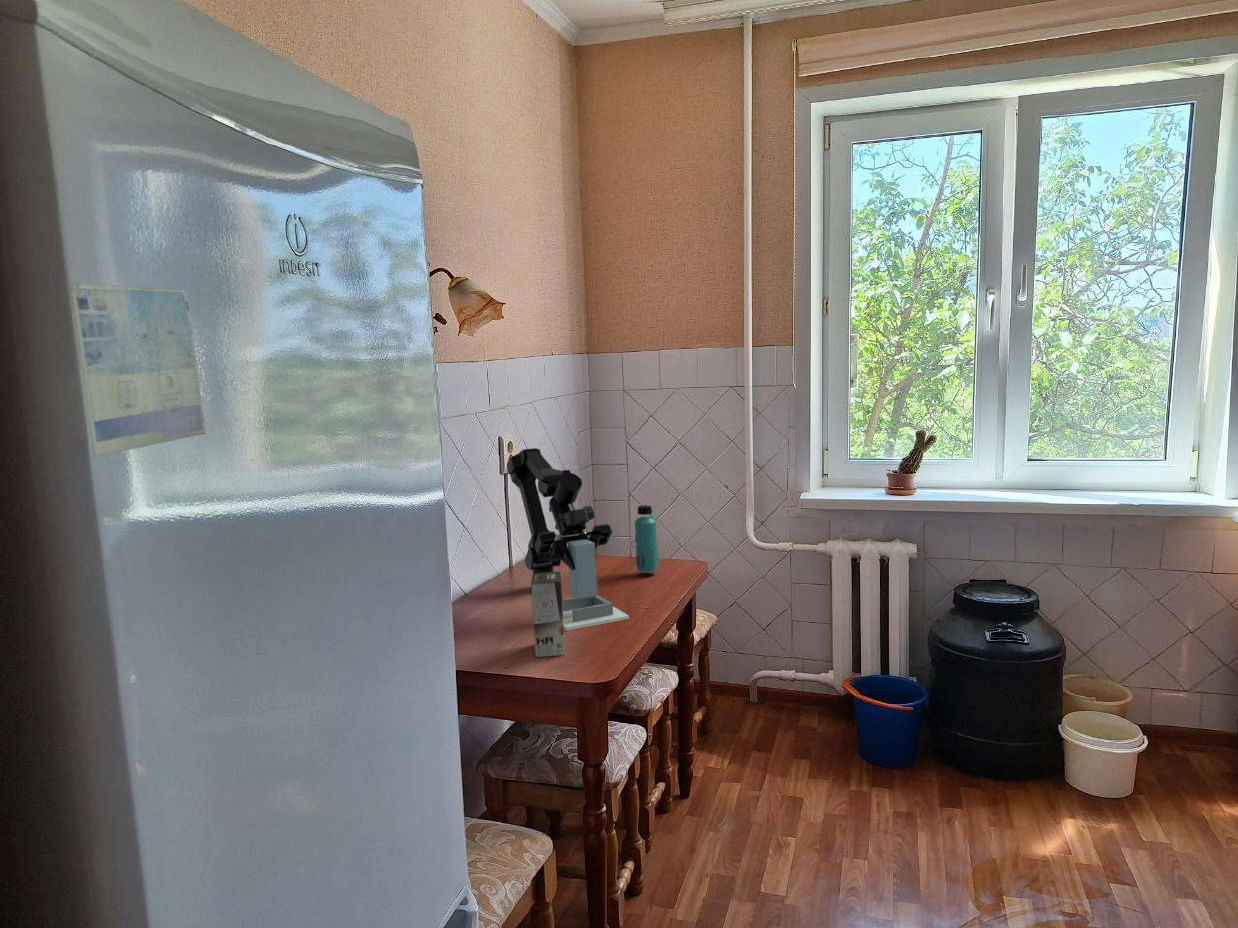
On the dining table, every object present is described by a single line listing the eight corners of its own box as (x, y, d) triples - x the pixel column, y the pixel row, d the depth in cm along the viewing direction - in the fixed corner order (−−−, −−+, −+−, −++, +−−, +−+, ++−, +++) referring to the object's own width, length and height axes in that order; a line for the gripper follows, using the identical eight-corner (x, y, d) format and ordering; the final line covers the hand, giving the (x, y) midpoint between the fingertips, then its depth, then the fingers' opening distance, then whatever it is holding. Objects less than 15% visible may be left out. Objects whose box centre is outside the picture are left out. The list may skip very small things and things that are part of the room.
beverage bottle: (662, 572, 239) (659, 503, 236) (655, 578, 233) (652, 508, 230) (640, 571, 241) (637, 503, 238) (633, 577, 235) (630, 507, 232)
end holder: (542, 613, 205) (542, 599, 205) (601, 602, 212) (601, 589, 211) (566, 630, 191) (565, 616, 190) (628, 618, 197) (628, 604, 197)
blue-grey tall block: (570, 594, 202) (567, 542, 200) (589, 590, 204) (586, 539, 202) (578, 599, 197) (575, 545, 195) (597, 595, 199) (594, 543, 198)
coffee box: (565, 655, 175) (561, 581, 173) (535, 657, 174) (530, 583, 172) (564, 641, 184) (560, 570, 182) (536, 643, 183) (531, 572, 181)
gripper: (536, 500, 197) (554, 554, 189) (607, 491, 205) (628, 543, 196) (527, 527, 205) (545, 580, 197) (596, 517, 213) (616, 568, 204)
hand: (584, 567), depth 198 cm, fingers closed on blue-grey tall block, 5 cm apart
